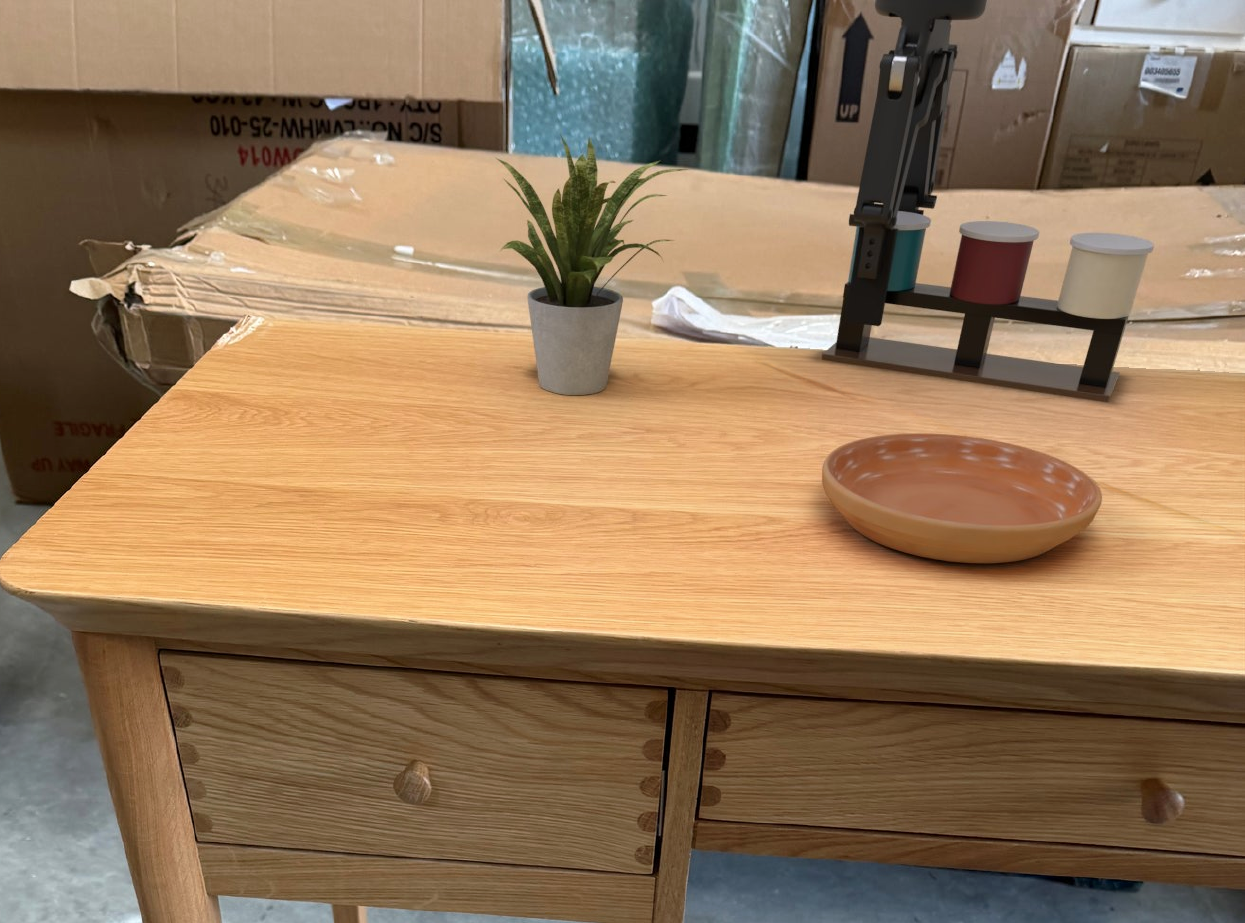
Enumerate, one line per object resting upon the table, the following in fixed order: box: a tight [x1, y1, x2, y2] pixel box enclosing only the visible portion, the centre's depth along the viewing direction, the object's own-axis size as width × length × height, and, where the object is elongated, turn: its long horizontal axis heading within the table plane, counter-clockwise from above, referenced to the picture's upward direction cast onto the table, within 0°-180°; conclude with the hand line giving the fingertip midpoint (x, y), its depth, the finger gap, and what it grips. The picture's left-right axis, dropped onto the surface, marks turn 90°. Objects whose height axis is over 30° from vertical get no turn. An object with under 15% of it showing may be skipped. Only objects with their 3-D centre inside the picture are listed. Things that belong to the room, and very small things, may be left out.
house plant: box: [495, 134, 690, 396], centre depth 86 cm, size 14×14×16 cm
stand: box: [821, 280, 1130, 403], centre depth 94 cm, size 7×22×6 cm, turn 64°
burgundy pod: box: [950, 220, 1040, 305], centre depth 91 cm, size 6×6×5 cm
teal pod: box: [847, 211, 932, 291], centre depth 93 cm, size 6×6×5 cm
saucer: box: [821, 432, 1103, 564], centre depth 72 cm, size 16×16×3 cm
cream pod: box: [1057, 232, 1155, 319], centre depth 88 cm, size 6×6×5 cm
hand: (876, 310), depth 96 cm, fingers open, 8 cm apart
